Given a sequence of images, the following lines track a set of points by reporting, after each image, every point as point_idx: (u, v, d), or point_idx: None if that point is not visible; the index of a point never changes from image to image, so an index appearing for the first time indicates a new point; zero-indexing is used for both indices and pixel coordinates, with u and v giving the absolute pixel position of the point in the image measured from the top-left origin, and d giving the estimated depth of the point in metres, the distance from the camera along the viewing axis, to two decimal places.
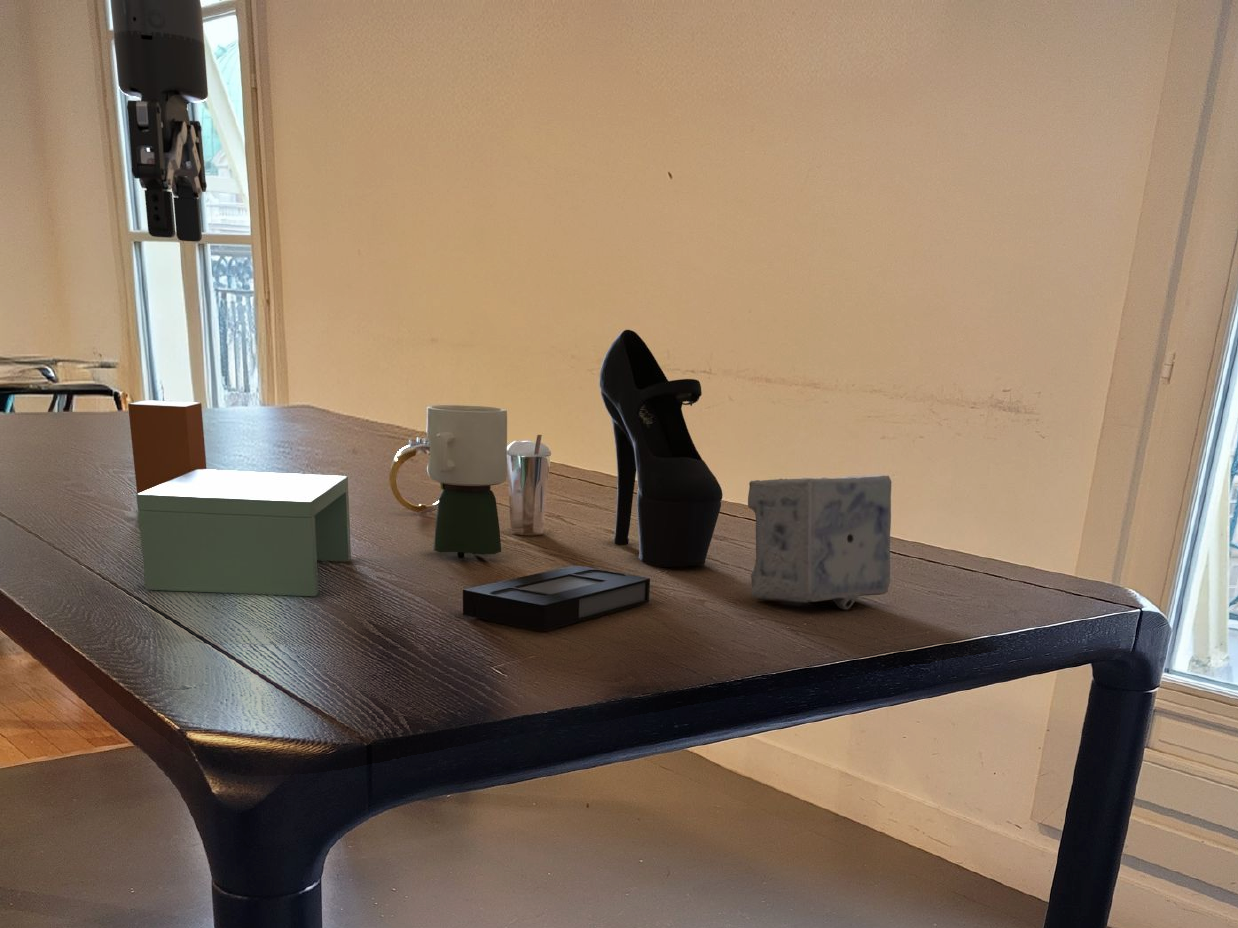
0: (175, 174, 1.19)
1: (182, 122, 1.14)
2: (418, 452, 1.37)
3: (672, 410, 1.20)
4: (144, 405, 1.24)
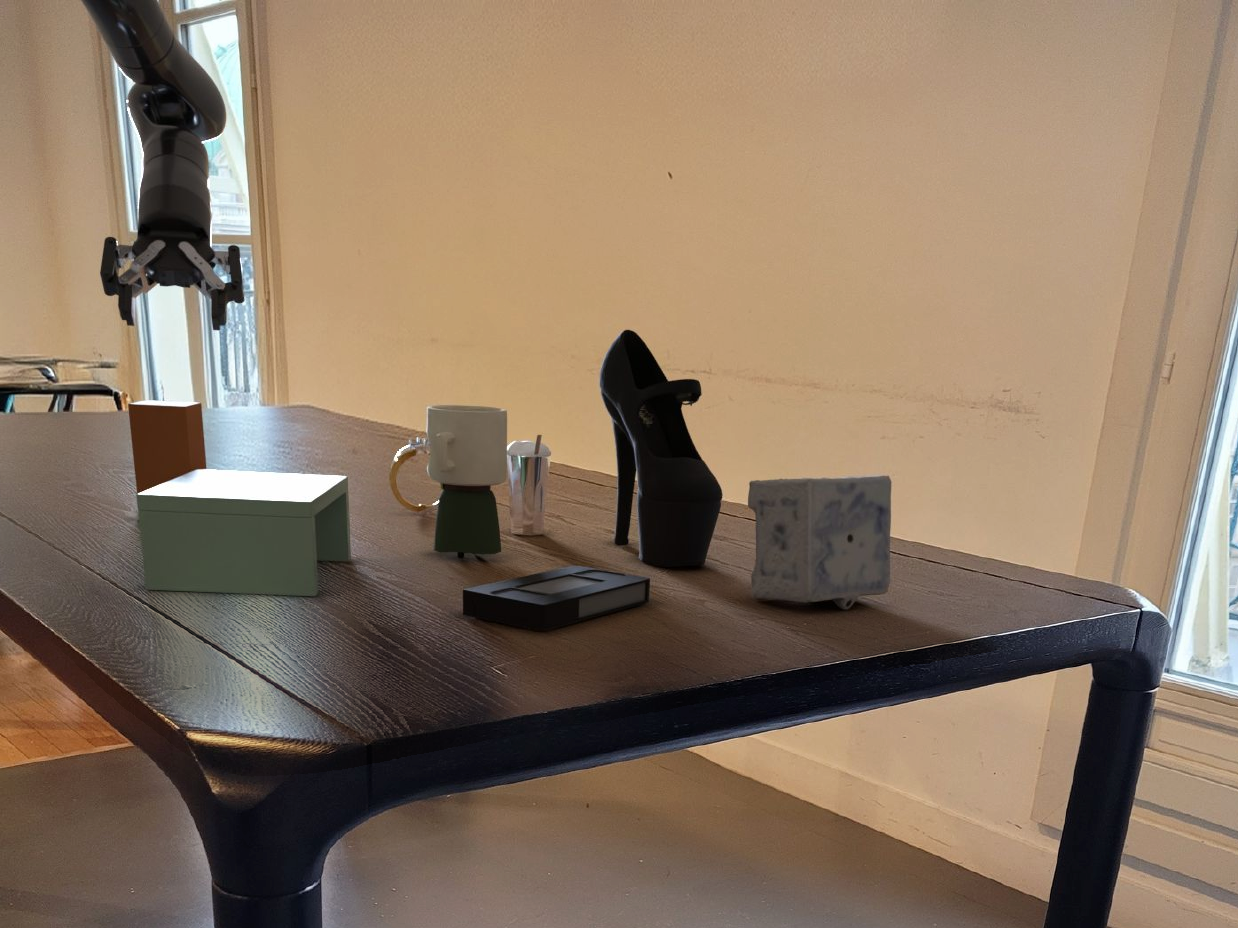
0: (142, 277, 1.35)
1: None
2: (418, 452, 1.37)
3: (672, 410, 1.20)
4: (144, 405, 1.24)
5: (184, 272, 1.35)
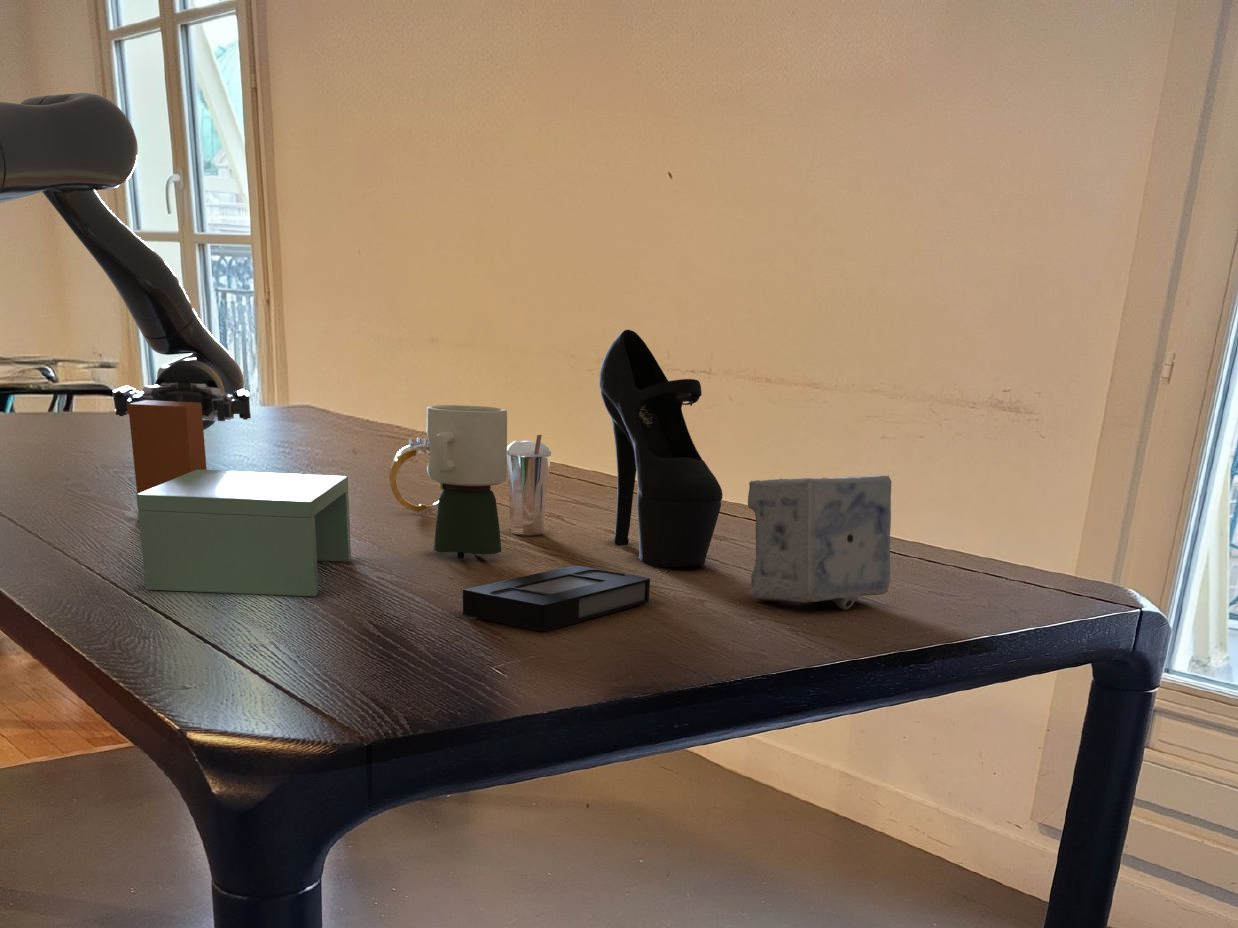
0: (153, 398, 1.41)
1: None
2: (418, 452, 1.37)
3: (672, 410, 1.20)
4: (144, 405, 1.24)
5: (194, 395, 1.42)
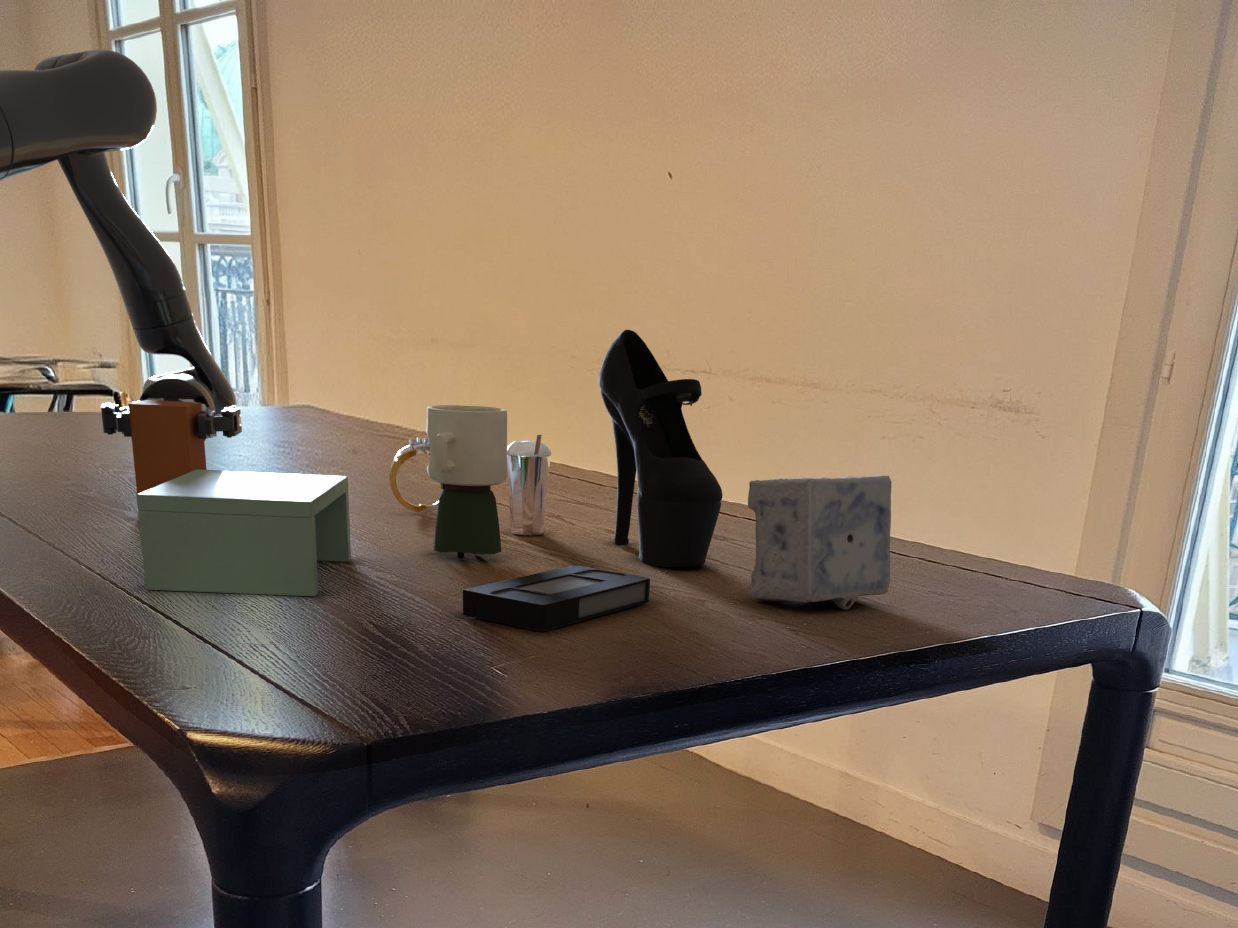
0: None
1: None
2: (418, 452, 1.37)
3: (672, 410, 1.20)
4: (144, 405, 1.24)
5: None
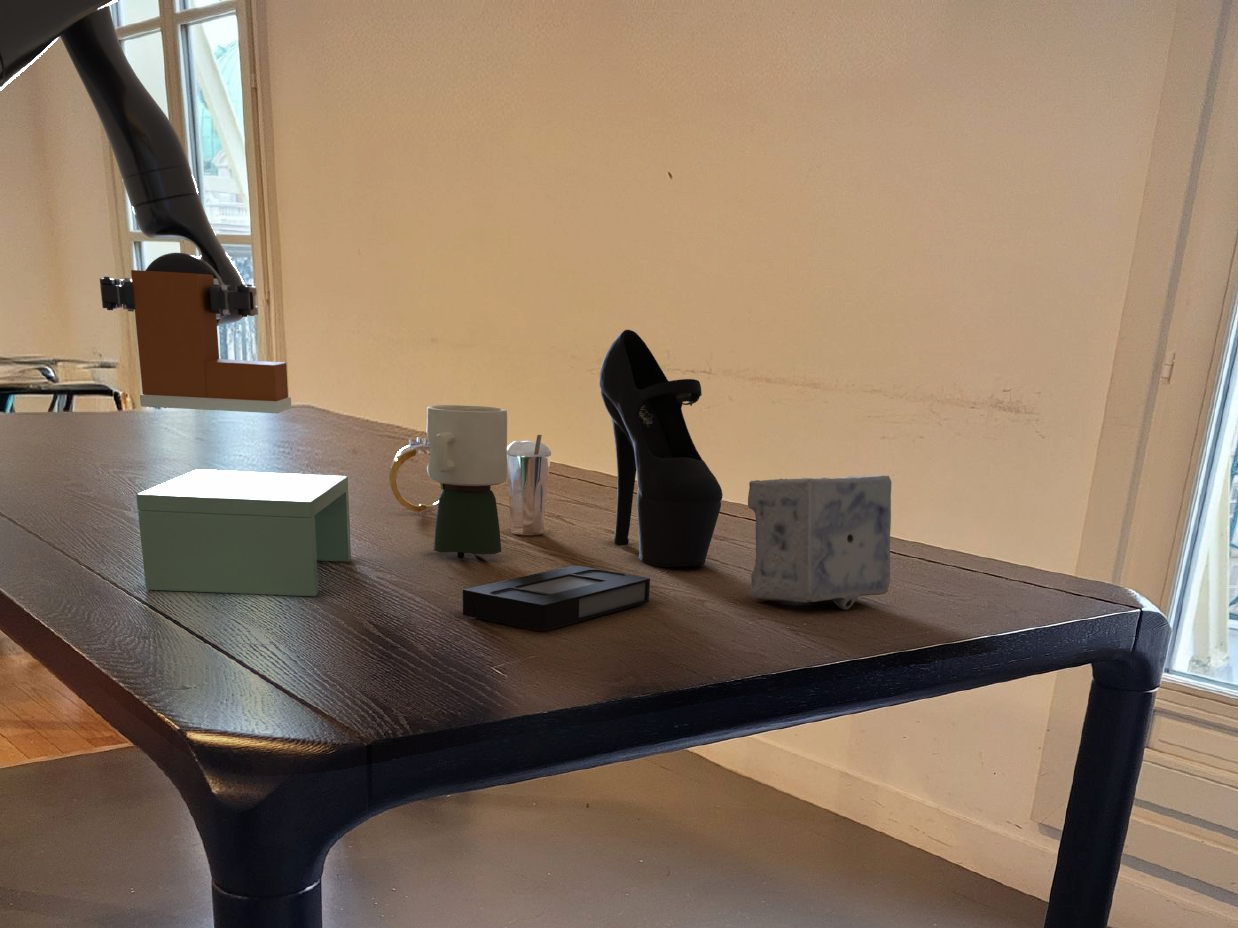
0: None
1: None
2: (418, 452, 1.37)
3: (672, 410, 1.20)
4: (149, 272, 1.09)
5: None
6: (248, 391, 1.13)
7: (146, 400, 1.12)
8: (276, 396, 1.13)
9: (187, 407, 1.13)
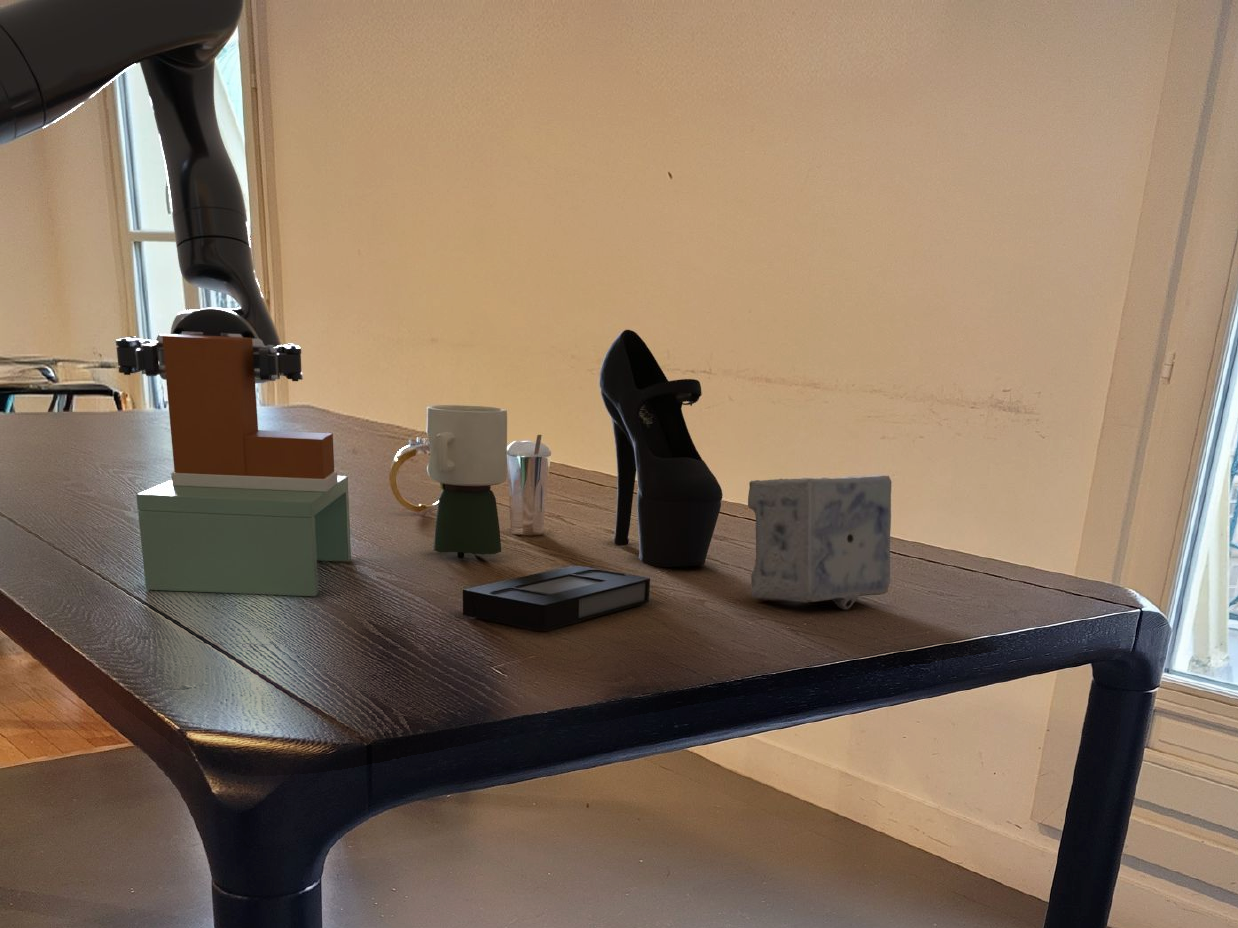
0: None
1: None
2: (418, 452, 1.37)
3: (672, 410, 1.20)
4: (183, 338, 0.97)
5: None
6: (292, 468, 1.01)
7: (178, 479, 1.00)
8: (323, 473, 1.01)
9: (224, 486, 1.01)
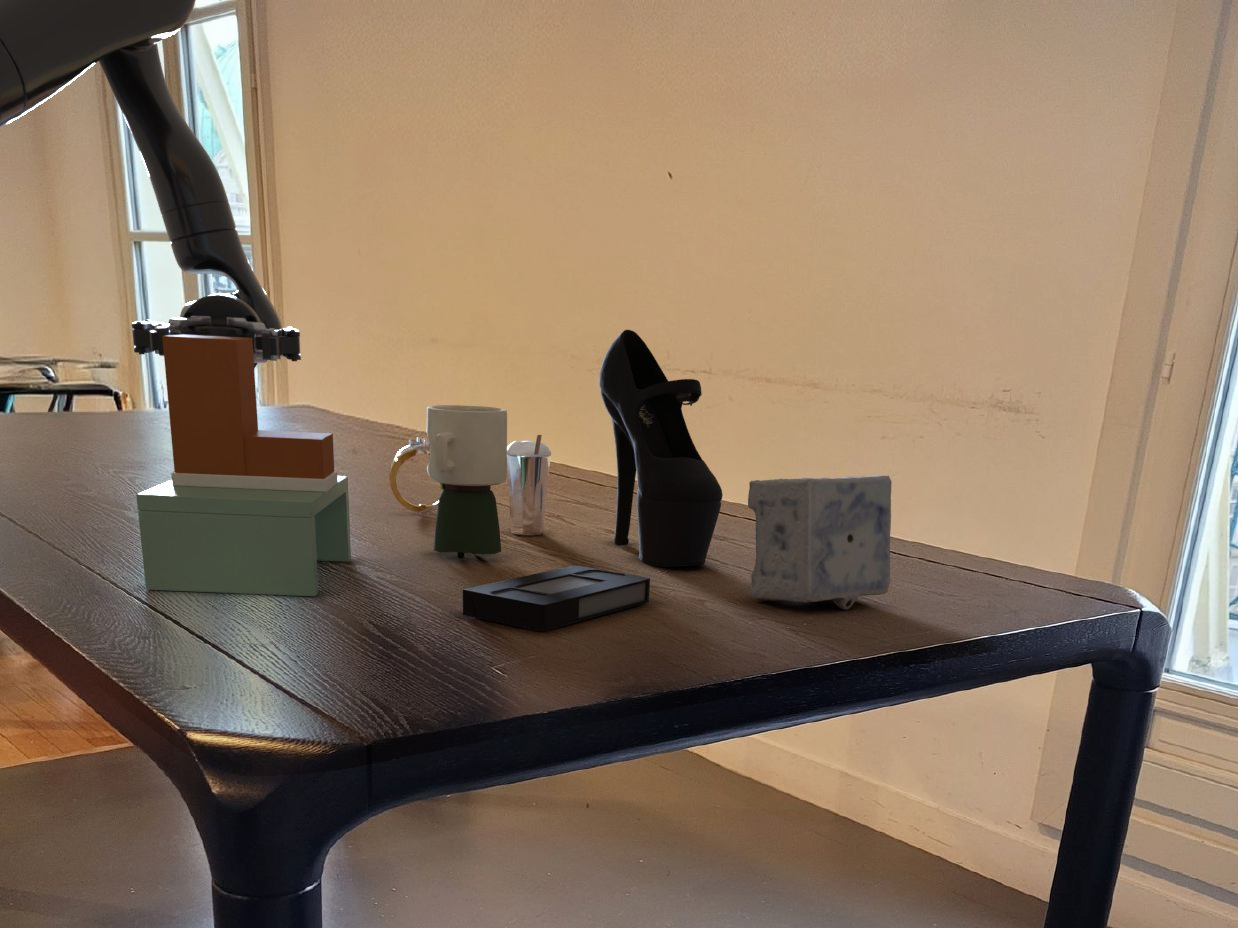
0: (181, 333, 1.13)
1: None
2: (418, 452, 1.37)
3: (672, 410, 1.20)
4: (183, 338, 0.97)
5: (231, 330, 1.15)
6: (292, 468, 1.01)
7: (178, 479, 1.00)
8: (323, 473, 1.01)
9: (224, 486, 1.01)
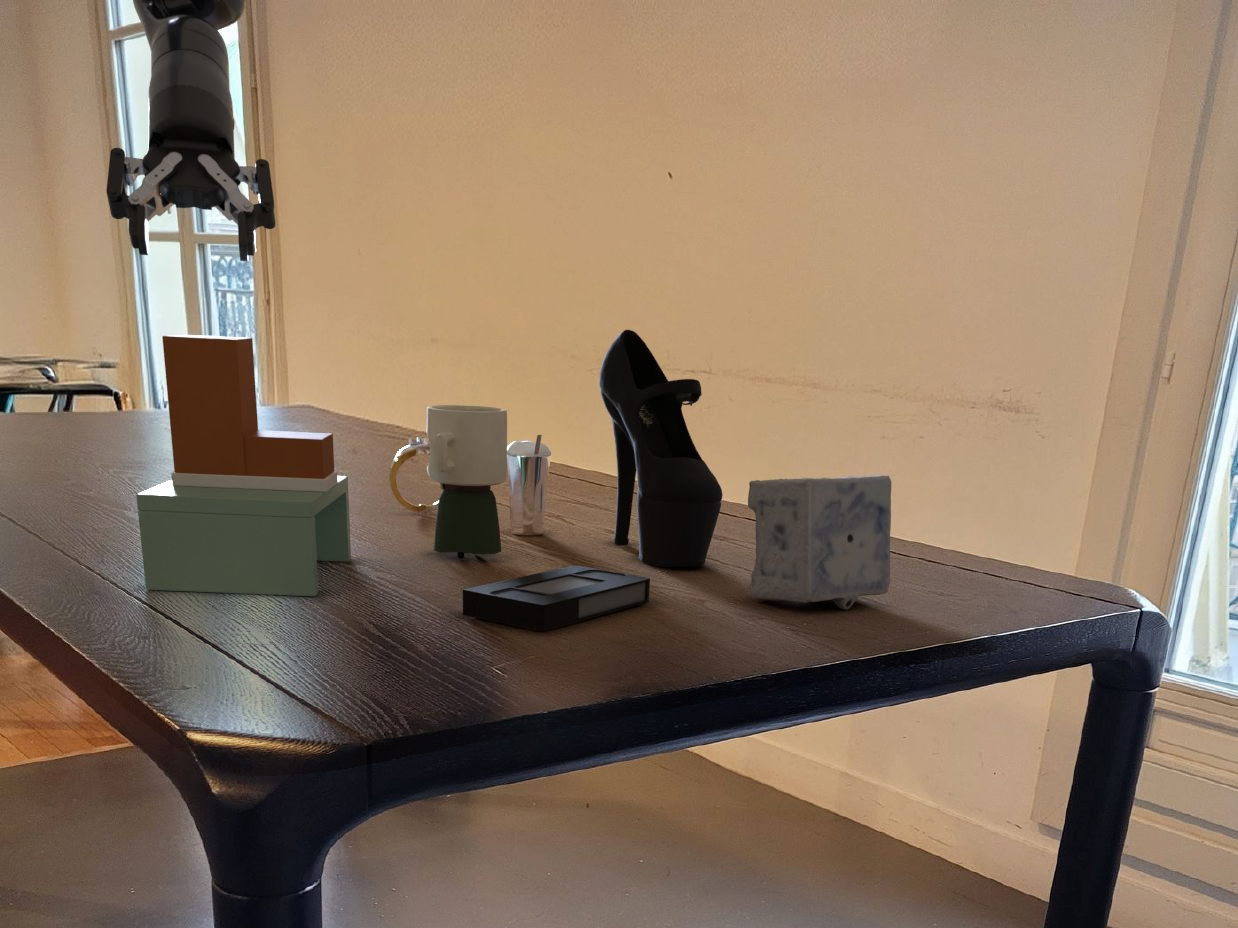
0: (155, 197, 1.14)
1: None
2: (418, 452, 1.37)
3: (672, 410, 1.20)
4: (183, 338, 0.97)
5: (205, 191, 1.15)
6: (292, 468, 1.01)
7: (178, 479, 1.00)
8: (323, 473, 1.01)
9: (224, 486, 1.01)
